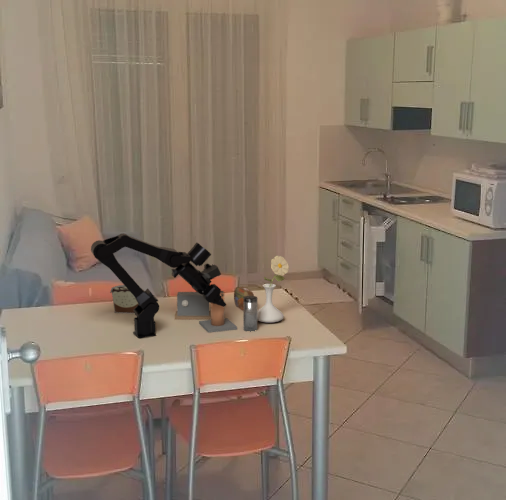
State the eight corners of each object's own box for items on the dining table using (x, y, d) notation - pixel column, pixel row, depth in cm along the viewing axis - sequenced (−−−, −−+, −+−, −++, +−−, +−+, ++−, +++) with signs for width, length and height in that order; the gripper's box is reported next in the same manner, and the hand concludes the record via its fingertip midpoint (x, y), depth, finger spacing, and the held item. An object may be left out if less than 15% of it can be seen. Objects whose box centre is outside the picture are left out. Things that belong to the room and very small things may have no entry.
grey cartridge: (247, 332, 248) (247, 300, 245) (241, 328, 252) (241, 296, 249) (259, 330, 250) (259, 298, 247) (253, 326, 254) (253, 295, 252)
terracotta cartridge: (217, 326, 250) (217, 294, 248) (208, 323, 254) (207, 292, 251) (227, 323, 254) (227, 292, 251) (217, 320, 257) (217, 289, 255)
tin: (233, 304, 282) (233, 284, 280) (240, 303, 283) (240, 283, 282) (248, 314, 269) (248, 293, 267) (255, 313, 270) (256, 292, 268)
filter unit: (174, 319, 262) (174, 296, 260) (176, 313, 270) (175, 290, 268) (211, 319, 262) (211, 296, 260) (211, 313, 270) (211, 290, 268)
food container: (145, 309, 275) (145, 284, 273) (141, 313, 269) (141, 288, 267) (115, 308, 276) (114, 283, 274) (110, 312, 270) (110, 287, 268)
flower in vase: (258, 326, 254) (259, 260, 249) (250, 317, 265) (250, 253, 260) (292, 323, 258) (293, 258, 253) (282, 314, 269) (283, 251, 263)
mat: (208, 332, 247) (208, 330, 247) (199, 323, 257) (199, 321, 257) (237, 329, 251) (237, 326, 251) (227, 320, 261) (227, 318, 261)
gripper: (215, 264, 239) (244, 292, 245) (199, 253, 256) (227, 279, 262) (193, 288, 238) (223, 315, 244) (179, 275, 255) (207, 301, 261)
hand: (221, 302), depth 253 cm, fingers open, 9 cm apart
